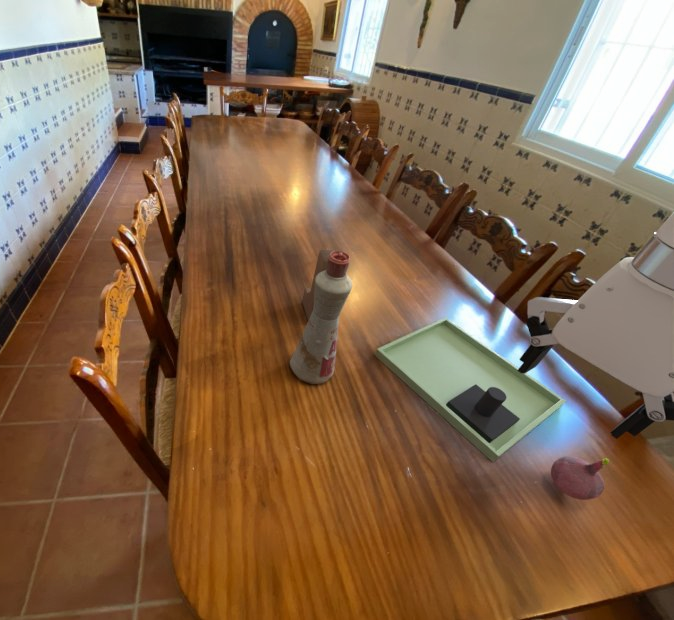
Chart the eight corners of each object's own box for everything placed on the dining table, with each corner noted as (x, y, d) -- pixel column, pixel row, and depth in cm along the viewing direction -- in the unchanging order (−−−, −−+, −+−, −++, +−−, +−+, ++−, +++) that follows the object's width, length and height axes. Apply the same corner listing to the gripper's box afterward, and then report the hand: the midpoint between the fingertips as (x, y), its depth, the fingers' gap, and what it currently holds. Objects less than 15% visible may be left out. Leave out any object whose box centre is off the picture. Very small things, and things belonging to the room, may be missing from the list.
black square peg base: (516, 422, 67) (536, 402, 63) (489, 443, 63) (507, 423, 59) (473, 387, 72) (488, 367, 68) (445, 405, 68) (459, 384, 64)
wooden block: (301, 301, 91) (314, 238, 79) (318, 301, 91) (334, 239, 80) (308, 325, 84) (324, 260, 73) (327, 325, 85) (345, 261, 73)
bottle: (289, 351, 77) (312, 235, 59) (331, 356, 77) (367, 241, 59) (288, 383, 71) (314, 263, 53) (334, 389, 70) (376, 270, 52)
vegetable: (569, 515, 55) (616, 486, 48) (530, 478, 59) (569, 447, 52) (591, 499, 57) (639, 469, 50) (552, 464, 61) (592, 432, 55)
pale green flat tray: (560, 407, 71) (566, 401, 69) (492, 462, 61) (498, 456, 59) (441, 323, 88) (445, 317, 87) (374, 355, 78) (376, 348, 77)
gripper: (871, 318, 26) (678, 446, 36) (598, 221, 37) (512, 340, 48) (855, 350, 23) (649, 480, 33) (563, 234, 34) (479, 358, 45)
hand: (568, 397), depth 41 cm, fingers open, 9 cm apart
